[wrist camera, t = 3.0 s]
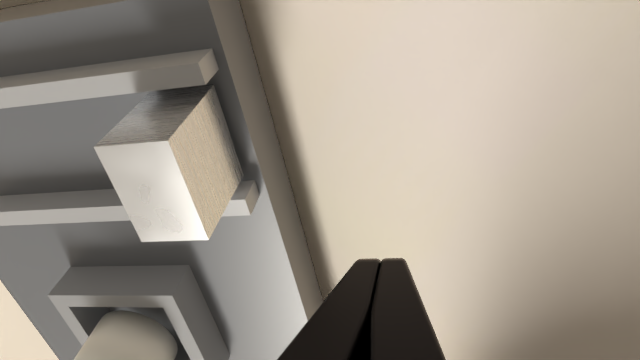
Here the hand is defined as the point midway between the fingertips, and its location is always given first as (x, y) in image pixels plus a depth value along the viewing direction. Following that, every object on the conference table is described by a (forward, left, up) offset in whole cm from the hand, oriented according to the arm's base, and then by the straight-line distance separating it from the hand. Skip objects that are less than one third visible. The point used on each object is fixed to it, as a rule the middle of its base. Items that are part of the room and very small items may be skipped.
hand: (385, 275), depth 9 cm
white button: (+11, +8, -5) cm, 14 cm away
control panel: (+11, +8, -8) cm, 16 cm away
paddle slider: (+6, 0, -6) cm, 8 cm away
